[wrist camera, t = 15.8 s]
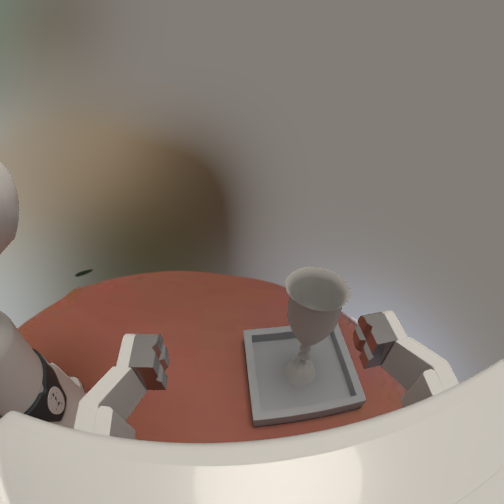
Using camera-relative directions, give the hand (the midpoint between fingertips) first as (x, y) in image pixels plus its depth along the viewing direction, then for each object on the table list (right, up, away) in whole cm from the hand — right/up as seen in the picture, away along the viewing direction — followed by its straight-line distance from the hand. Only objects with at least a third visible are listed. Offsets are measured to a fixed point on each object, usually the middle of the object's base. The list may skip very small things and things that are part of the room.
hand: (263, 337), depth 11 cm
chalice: (+7, -15, +29) cm, 33 cm away
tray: (+7, -16, +29) cm, 34 cm away
